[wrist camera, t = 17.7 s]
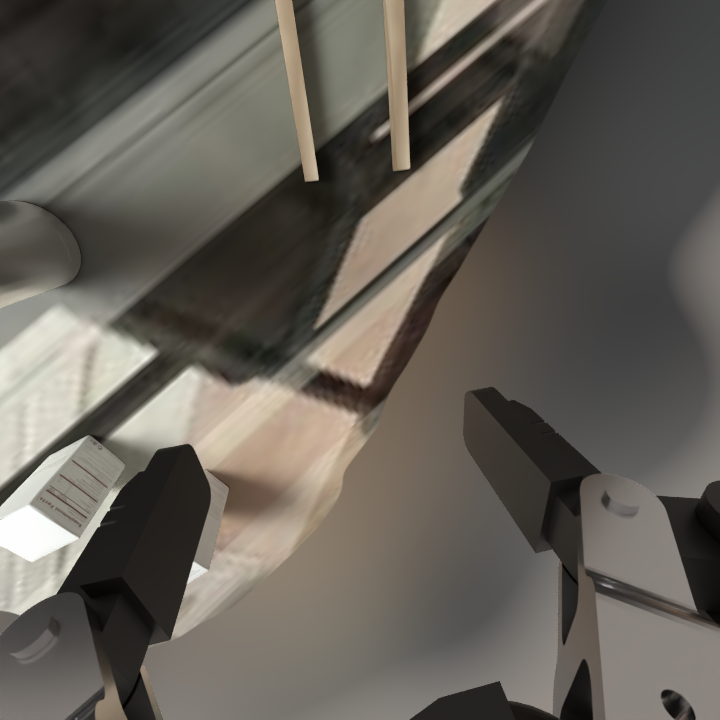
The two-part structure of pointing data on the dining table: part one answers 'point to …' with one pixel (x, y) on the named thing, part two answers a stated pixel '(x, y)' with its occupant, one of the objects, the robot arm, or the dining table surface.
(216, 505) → the skincare box
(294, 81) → the guide lane
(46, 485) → the supplement box
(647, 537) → the robot arm
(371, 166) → the dining table surface
